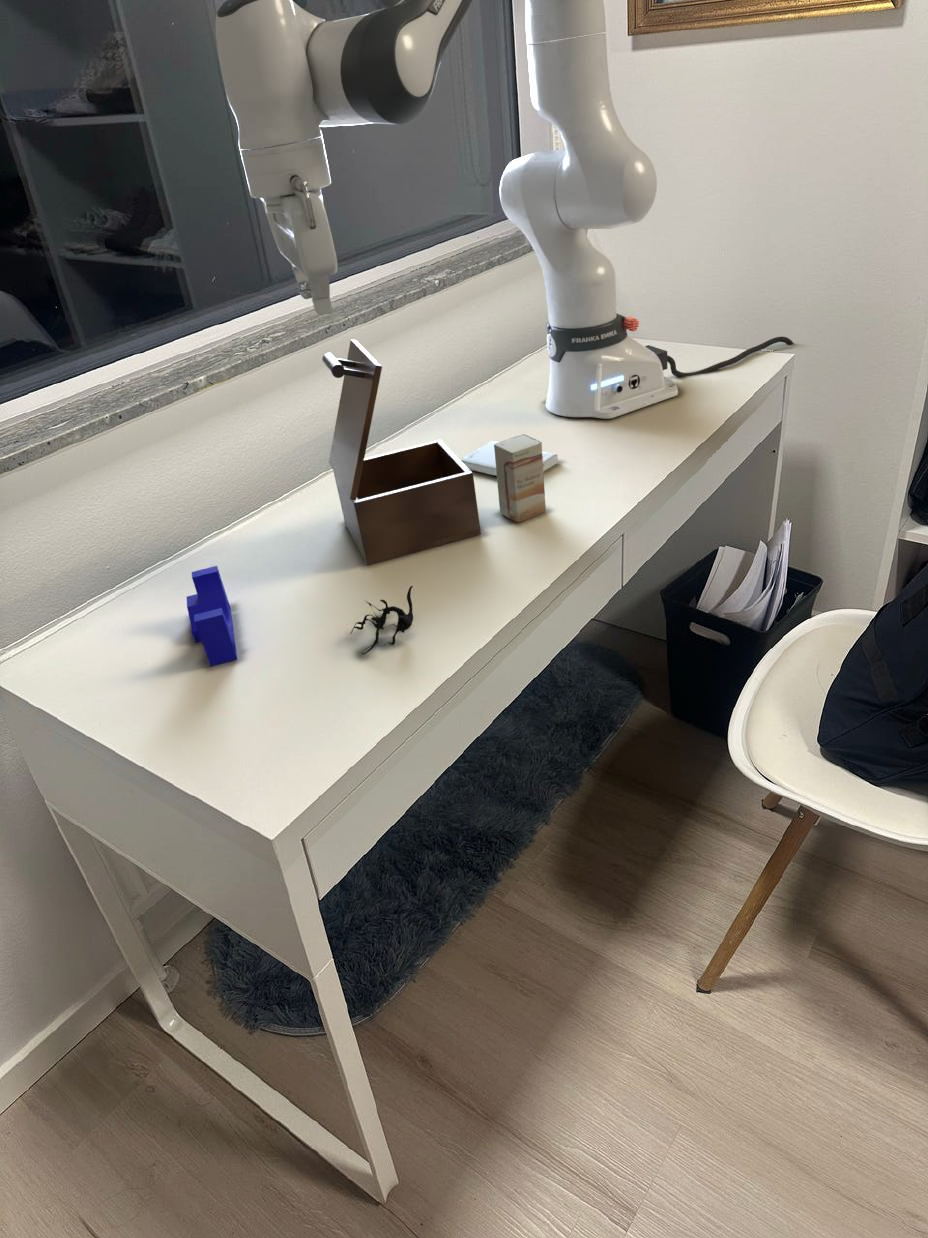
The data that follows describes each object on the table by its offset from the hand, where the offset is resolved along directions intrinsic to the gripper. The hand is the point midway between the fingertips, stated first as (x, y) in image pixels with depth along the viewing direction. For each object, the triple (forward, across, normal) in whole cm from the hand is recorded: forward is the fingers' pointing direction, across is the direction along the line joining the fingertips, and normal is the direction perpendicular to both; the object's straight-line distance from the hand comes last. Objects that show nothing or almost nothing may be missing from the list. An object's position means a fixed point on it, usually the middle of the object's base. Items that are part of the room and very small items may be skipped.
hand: (316, 304), depth 103 cm
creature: (+31, -24, +4) cm, 40 cm away
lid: (+14, 0, -2) cm, 14 cm away
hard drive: (+31, +12, -25) cm, 42 cm away
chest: (+31, 0, -6) cm, 32 cm away
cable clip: (+31, -14, +22) cm, 41 cm away
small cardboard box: (+31, -4, -21) cm, 38 cm away
